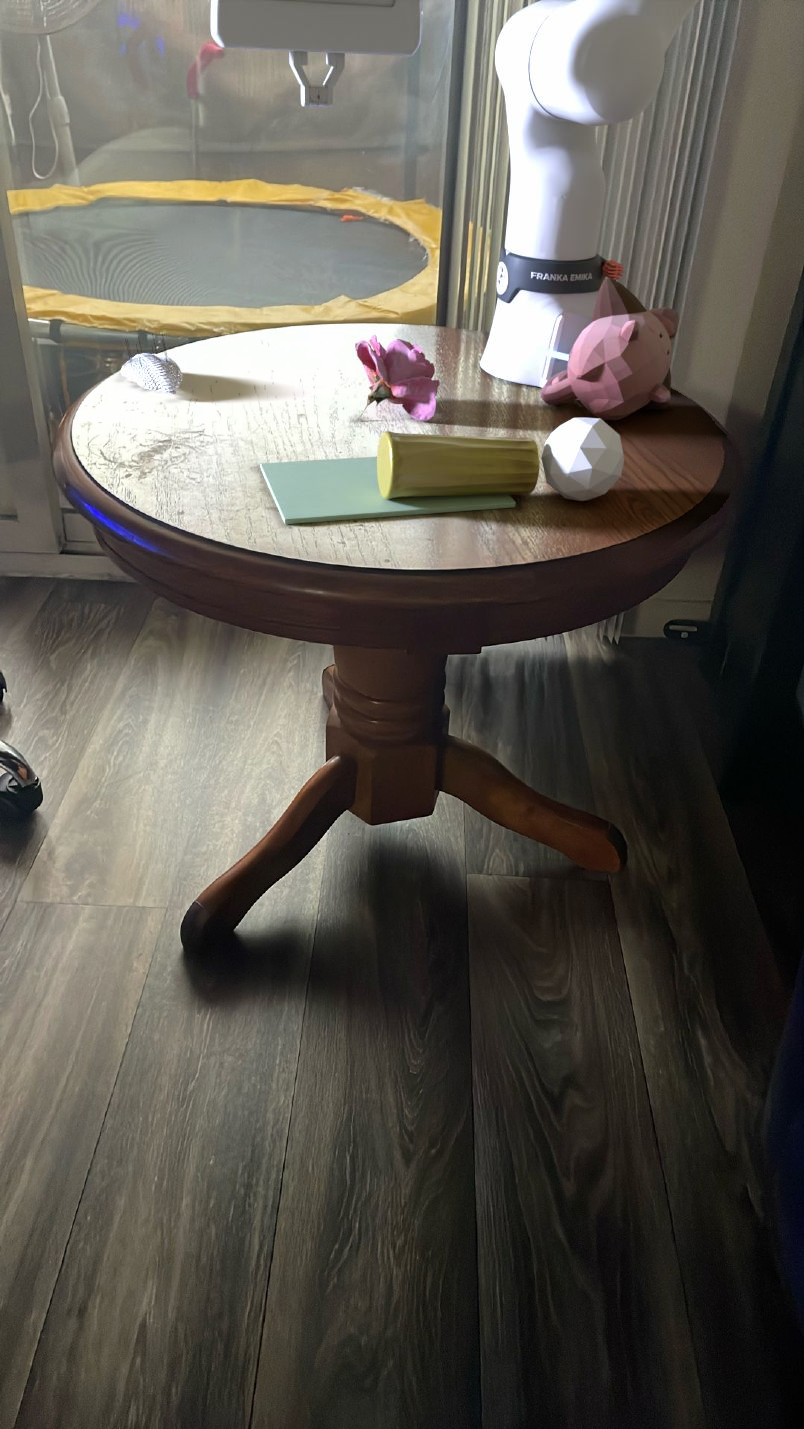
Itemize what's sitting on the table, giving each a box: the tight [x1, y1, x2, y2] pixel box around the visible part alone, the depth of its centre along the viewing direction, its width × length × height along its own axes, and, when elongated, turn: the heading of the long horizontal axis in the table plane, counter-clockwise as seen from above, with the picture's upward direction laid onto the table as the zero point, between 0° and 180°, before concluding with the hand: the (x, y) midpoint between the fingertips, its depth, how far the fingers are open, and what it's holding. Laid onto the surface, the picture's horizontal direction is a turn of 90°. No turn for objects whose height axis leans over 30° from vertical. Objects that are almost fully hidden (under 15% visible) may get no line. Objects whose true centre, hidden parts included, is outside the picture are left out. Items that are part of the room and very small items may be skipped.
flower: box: [354, 334, 441, 422], centre depth 115 cm, size 11×10×10 cm
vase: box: [376, 430, 541, 500], centre depth 96 cm, size 6×6×14 cm
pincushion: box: [120, 332, 184, 395], centre depth 118 cm, size 12×6×6 cm, turn 32°
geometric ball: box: [540, 417, 625, 502], centre depth 98 cm, size 8×8×8 cm
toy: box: [539, 277, 680, 421], centre depth 118 cm, size 17×16×15 cm
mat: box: [259, 456, 516, 525], centre depth 99 cm, size 22×13×1 cm, turn 106°
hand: (316, 106), depth 103 cm, fingers closed
